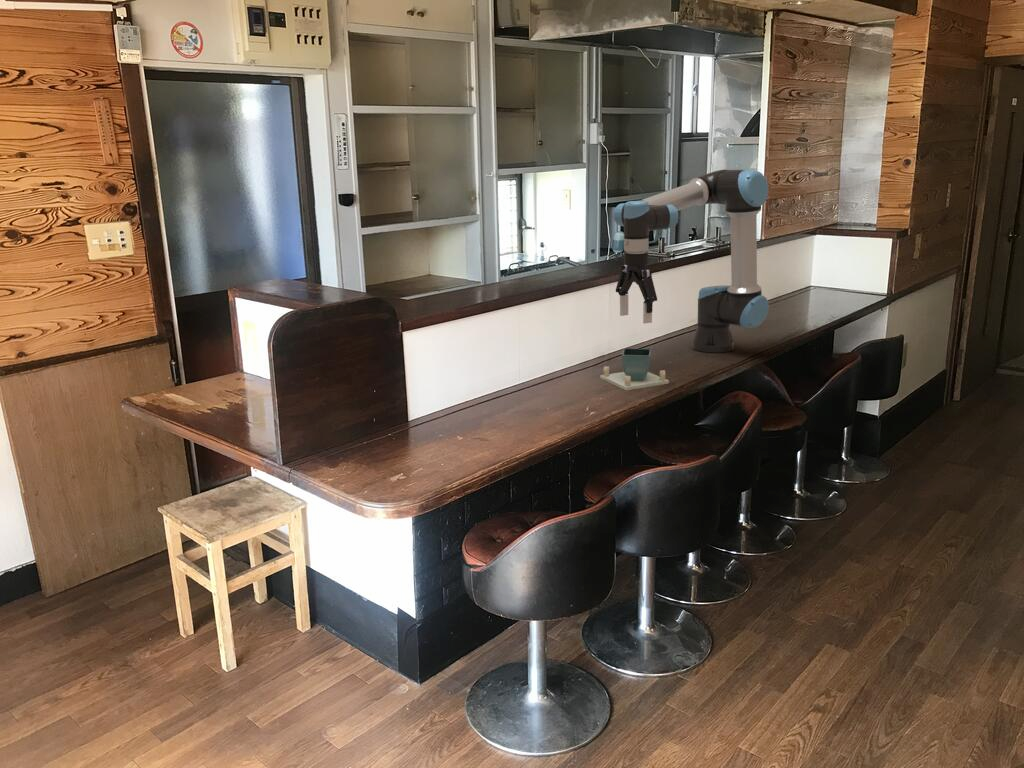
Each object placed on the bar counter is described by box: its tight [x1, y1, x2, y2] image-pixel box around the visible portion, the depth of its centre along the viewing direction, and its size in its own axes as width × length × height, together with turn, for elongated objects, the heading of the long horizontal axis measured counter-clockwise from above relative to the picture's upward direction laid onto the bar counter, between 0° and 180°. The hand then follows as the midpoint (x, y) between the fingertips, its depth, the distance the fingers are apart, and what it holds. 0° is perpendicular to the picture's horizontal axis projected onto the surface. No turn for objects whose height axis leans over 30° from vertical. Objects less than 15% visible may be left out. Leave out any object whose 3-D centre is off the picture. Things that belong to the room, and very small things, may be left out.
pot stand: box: [599, 365, 670, 391], centre depth 271 cm, size 16×16×4 cm
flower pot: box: [621, 347, 652, 380], centre depth 269 cm, size 9×9×9 cm
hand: (635, 319), depth 266 cm, fingers open, 13 cm apart
